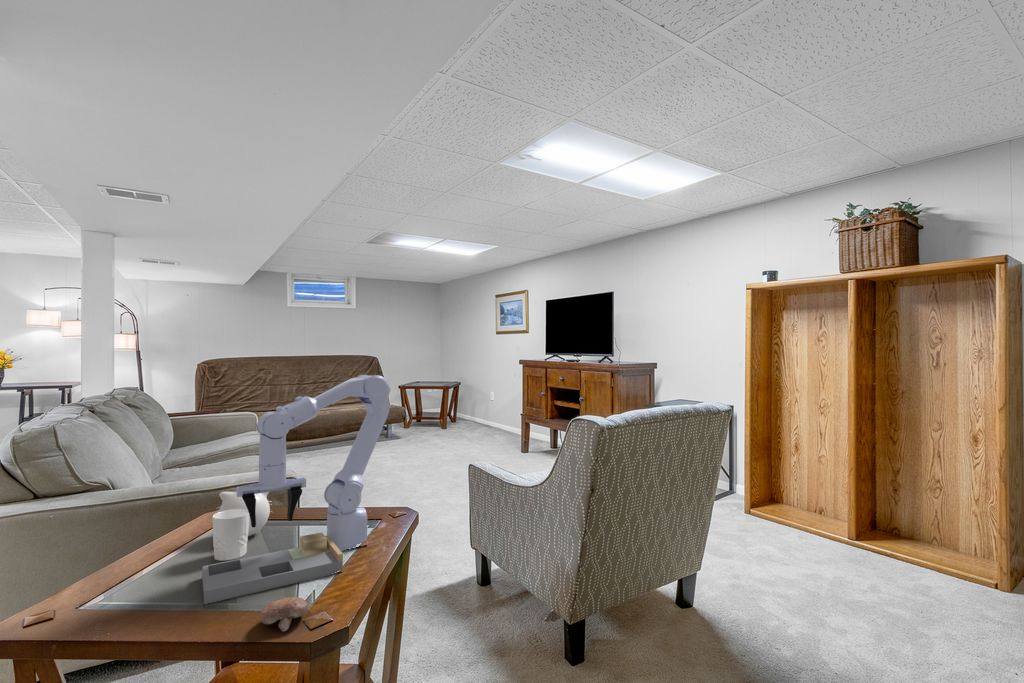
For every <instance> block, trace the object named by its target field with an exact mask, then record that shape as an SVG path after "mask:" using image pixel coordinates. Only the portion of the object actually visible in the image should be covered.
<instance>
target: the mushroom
mask: <svg viewBox="0 0 1024 683" xmlns="http://www.w3.org/2000/svg"><path fill="white" fill-rule="evenodd" d="M308 609H309V605H308V601H307V600H306V599H304V598H303V597H298V596H291V597H283V598H281V599H278V600H274V601H271V602H269V603H268V604H267V605H265V606H264V607H263V608H262V610H260V613H259V620H260V621H261V623H262V624H264V625H273V624H274V623H276V622H278V621H279V620H280V621H279V622H278V628H279V629H280V631H282V632H286V631H287V630H289V627H290V626H291V623H292V619H297V618H299V617H301V616H303V615H304V614H306V613H307V612H308Z"/></svg>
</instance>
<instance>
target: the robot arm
mask: <svg viewBox="0 0 1024 683" xmlns="http://www.w3.org/2000/svg"><path fill="white" fill-rule="evenodd" d="M391 390H392V389H391V387H390V385H389V384H388V381H387V380H386V378H385V377H384V376H382V375H379V374H378V375H377V374H376V375H375V374H374V375H367V374H360V375H358V376H356V377H352V378H349V379H348V380H345V381H343V382H341V383H339V384H337V385H336V386H334V387H332V388H330V389H328V390H326V391H324V392H322V393H320V394H318V395H316V396H314V397H310V396H306V395H305V396H303V397H302V396H297V397H295V398H294V400H295V401H292V402H290V403H289V404H286V405H284V406H281V405H279V406H277V407H276V408H275V410H276V411H267V412H265V413H263V414H262V415H261V416H260V418H258V419H257V424H255V428H256V430H257V432H258V434H259V446H258V482H256V483H255V482H254V483H251V484H246V485H241V486H237V487H236V491H235V492H236V495H237V497H242V498H243V500H244V502H245V504H246V507H247V509H248V512H249V515H250V520H251V526H252V528H253V527H256V516H255V509H256V498H255V495H254V494H258V493H265V492H269V493H270V492H279V491H285V490H286V491H287V513H286V514H287V516H286V517H287V518H286V519H287V520H288V522H292V521H293V517H294V513H295V510H296V506H297V504H298V502H299V499H300V498H301V495H302V493H303V489H302V488H307V479H306V478H305V477H300V478H299V477H298V478H287V434H288V433H289V432H290V430H293V429H294V428H297V427H299V426H300V425H302V424H305V423H306V422H309V421H310V420H312V419H314V418H316V417H317V416H318V413H319V412H320V410H321V409H324V408H326V407H328V406H330V405H333V404H335V403H337V402H339V401H342V400H344V399H347V398H349V397H357V399H358V400H359V401H361V403H362V404H363V407H364V409H365V412H366V415H365V417H364V419H363V421H362V424H361V426H360V428H359V430H358V432H357V435H356V438H355V440H354V442H353V445H352V447H351V449H350V451H349V453H348V456H347V457H346V460H345V462H344V465H343V467H342V469H341V470H339V471H338V472H337V473H336V474H335V475H334V477H333V480H332V481H331V483H329V484H328V485H327V486H326V487H325V490H324V494H323V498H324V500H325V502H326V503H327V504H328V507H327V512H326V513H327V514H326V516H327V517H326V519H327V520H326V536H327V535H328V536H329V538H330V539H331V540H332V541H333V542H334V544H335V545H336V546H337V547H338V548H339V550H340V551H341V552H344V551H343V550H345V551H347V550H346V549H349V548H353V547H356V545H357V544H360V543H362V542H364V541H366V540H367V541H368V514H367V510H366V508H365V507H363V506H361V507H359V506H360V505H361V502H362V491H363V488H364V484H365V483H364V481H363V480H364V478H363V475H364V473H365V471H366V468H367V466H368V464H369V461H370V459H371V457H372V454H373V452H374V449H375V447H376V445H377V442H378V439H379V437H380V436H381V433H382V430H383V428H384V425H385V423H386V421H387V419H388V416H389V413H390V392H391ZM349 550H350V549H349Z"/></svg>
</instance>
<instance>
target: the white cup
mask: <svg viewBox="0 0 1024 683" xmlns="http://www.w3.org/2000/svg"><path fill="white" fill-rule="evenodd" d="M249 517H250V515H249V512H248V510H247V509H232V510H226V511H222V512H219V511H217V512H216V513H214V514H213V515H212V517H211V518H212V544H213V545H212V546H213V557H214V560H215V561H220V562H221V561H222V562H227V561H232V560H237V559H241V557H244V556H245V555H246V554H247V551H248V550H247V549H248V541H249V539H248V538H249V536H248V531H249Z"/></svg>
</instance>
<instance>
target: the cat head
mask: <svg viewBox="0 0 1024 683" xmlns="http://www.w3.org/2000/svg"><path fill="white" fill-rule="evenodd" d="M269 493H270V492H265V493H258V494H254V495H255V498H256V509H255V516H256V527H253V528H252V526H251V520H250V517H249V531H248V537H250V536H253V535H255V534H256V533H258V532H259V531H260V530H261V529H263V528H264V526H265V525H266V523H267V522H268V519H269V518H270V513H273V511H272V510H271V508H270V506H272V505H273V504H272V501H271V500H268V498H267V496H268V494H269ZM218 497H220V498H219V499H220V500H221V501H222V503H221V505H220V506H219V507H216V510H217V509H219V510H217V512H222V511H226V510H232V509H247V507H246V504H245V502H244V500H243V498H242V497H237V495H236V491H221V492H219V496H218ZM247 510H248V509H247Z"/></svg>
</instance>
